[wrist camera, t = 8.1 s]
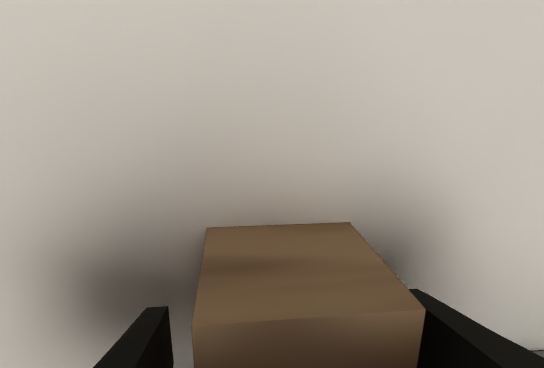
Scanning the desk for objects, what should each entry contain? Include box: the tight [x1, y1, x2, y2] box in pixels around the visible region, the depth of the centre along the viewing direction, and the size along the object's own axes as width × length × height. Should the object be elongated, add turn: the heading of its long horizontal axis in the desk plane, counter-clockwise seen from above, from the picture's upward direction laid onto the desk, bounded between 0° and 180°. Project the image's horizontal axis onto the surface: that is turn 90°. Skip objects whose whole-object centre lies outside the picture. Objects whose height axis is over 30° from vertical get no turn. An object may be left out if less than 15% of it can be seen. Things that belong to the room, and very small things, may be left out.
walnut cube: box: [191, 222, 426, 368], centre depth 10 cm, size 5×5×5 cm
